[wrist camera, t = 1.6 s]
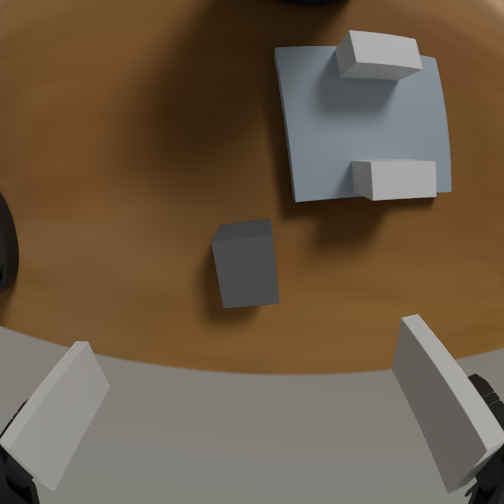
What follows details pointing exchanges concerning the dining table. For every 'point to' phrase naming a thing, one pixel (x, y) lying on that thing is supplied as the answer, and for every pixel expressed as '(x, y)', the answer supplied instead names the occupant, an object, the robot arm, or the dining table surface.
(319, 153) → the board
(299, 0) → the coffee jar
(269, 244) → the dark gray block
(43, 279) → the dining table surface
